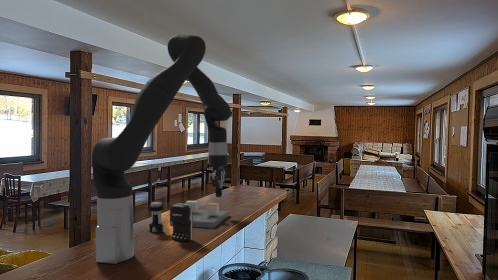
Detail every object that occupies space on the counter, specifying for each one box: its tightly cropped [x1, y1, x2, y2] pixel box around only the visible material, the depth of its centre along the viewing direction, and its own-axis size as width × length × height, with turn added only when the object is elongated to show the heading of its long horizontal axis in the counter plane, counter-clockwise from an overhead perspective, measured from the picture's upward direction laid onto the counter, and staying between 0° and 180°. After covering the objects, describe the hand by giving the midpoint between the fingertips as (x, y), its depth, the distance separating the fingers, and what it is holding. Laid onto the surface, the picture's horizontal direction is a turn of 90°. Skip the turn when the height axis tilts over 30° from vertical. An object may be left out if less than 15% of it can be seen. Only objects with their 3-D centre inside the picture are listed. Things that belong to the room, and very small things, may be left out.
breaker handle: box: [206, 202, 220, 216], centre depth 136 cm, size 2×4×4 cm, turn 76°
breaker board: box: [169, 200, 230, 229], centre depth 137 cm, size 18×17×6 cm
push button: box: [147, 201, 165, 234], centre depth 123 cm, size 7×5×10 cm
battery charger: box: [169, 203, 193, 242], centre depth 113 cm, size 7×4×11 cm, turn 64°
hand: (218, 196), depth 142 cm, fingers closed
